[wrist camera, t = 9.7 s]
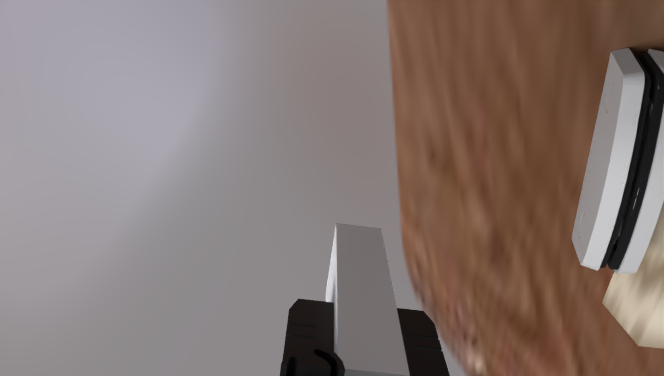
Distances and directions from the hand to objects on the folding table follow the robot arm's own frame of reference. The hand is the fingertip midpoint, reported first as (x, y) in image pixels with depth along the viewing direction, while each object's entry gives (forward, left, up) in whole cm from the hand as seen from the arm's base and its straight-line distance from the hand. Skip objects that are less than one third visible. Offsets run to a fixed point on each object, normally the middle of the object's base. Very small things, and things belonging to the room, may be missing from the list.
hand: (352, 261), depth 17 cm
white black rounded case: (+2, +22, -25) cm, 33 cm away
